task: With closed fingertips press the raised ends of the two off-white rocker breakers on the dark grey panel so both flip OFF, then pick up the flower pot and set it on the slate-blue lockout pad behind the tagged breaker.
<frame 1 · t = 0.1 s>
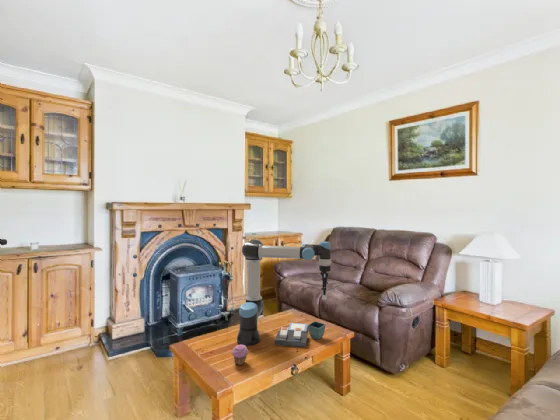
hand: (324, 296, 204), 28 cm above the table, fingers open, 13 cm apart
breaker 2: (297, 333, 199), point 6 cm above the table, hinge at 15.0°
breaker 1: (284, 332, 200), point 6 cm above the table, hinge at 15.0°
lockout pad: (297, 328, 219), on the table
cupcake: (240, 363, 172), on the table
flower pot: (316, 338, 205), on the table
breaker panel: (291, 341, 200), on the table
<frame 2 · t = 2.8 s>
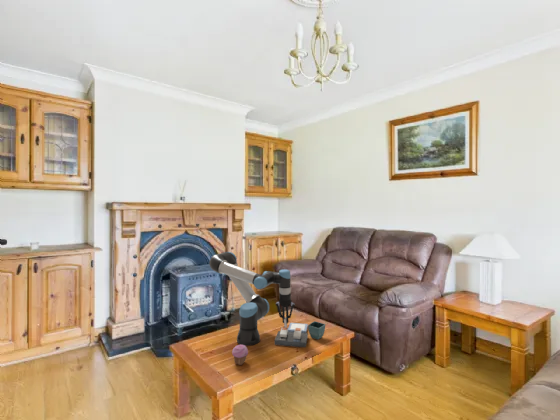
hand: (285, 327, 205), 7 cm above the table, fingers closed
breaker 1: (284, 332, 200), point 6 cm above the table, hinge at 7.3°, touching gripper
everything else where it was.
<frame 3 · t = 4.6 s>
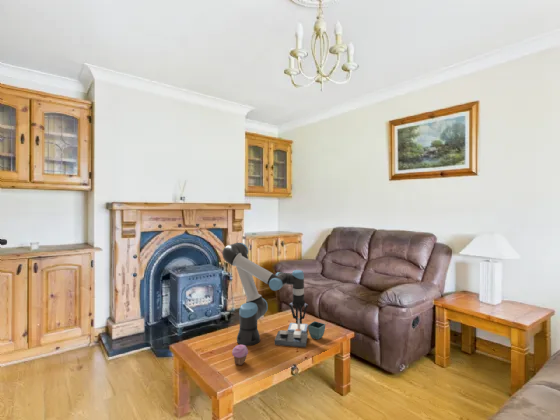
hand: (299, 328, 204), 7 cm above the table, fingers closed
breaker 2: (297, 333, 199), point 6 cm above the table, hinge at 1.2°, touching gripper
breaker 1: (284, 332, 200), point 6 cm above the table, hinge at -22.0°
everything else where it was.
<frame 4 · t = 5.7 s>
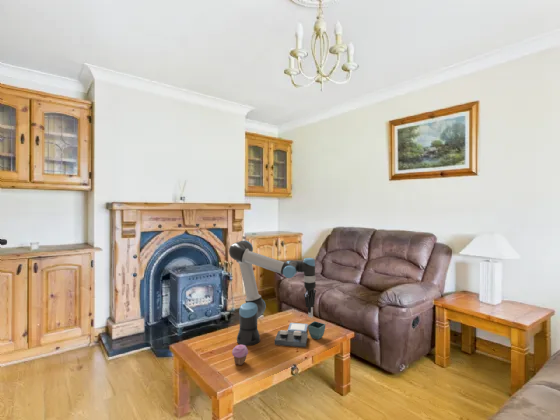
hand: (310, 316, 203), 15 cm above the table, fingers closed
breaker 2: (297, 333, 199), point 6 cm above the table, hinge at -19.5°
breaker 1: (284, 332, 200), point 6 cm above the table, hinge at -20.2°
everything else where it was.
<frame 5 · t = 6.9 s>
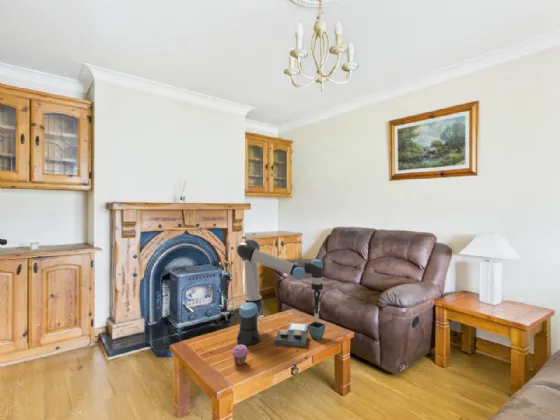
hand: (317, 314, 204), 16 cm above the table, fingers open, 13 cm apart
breaker 2: (297, 333, 199), point 6 cm above the table, hinge at -22.0°
breaker 1: (284, 332, 200), point 6 cm above the table, hinge at -19.5°
everything else where it was.
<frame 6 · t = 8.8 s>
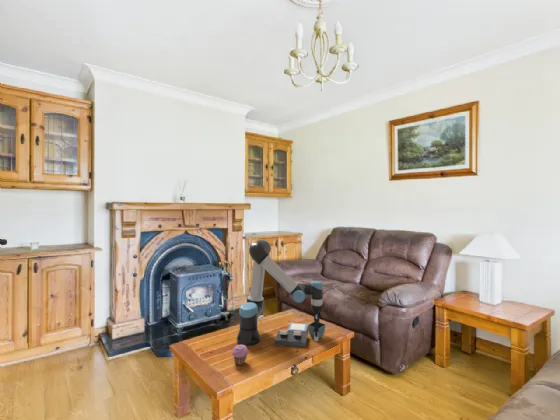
hand: (316, 337, 205), 0 cm above the table, fingers closed on flower pot, 10 cm apart
breaker 2: (297, 333, 199), point 6 cm above the table, hinge at -20.8°
flower pot: (316, 338, 205), on the table, touching gripper
everything else where it was.
when the fingers open (3 cm above the table, at t = 14.3 s): flower pot moves 2 cm, resting on lockout pad.
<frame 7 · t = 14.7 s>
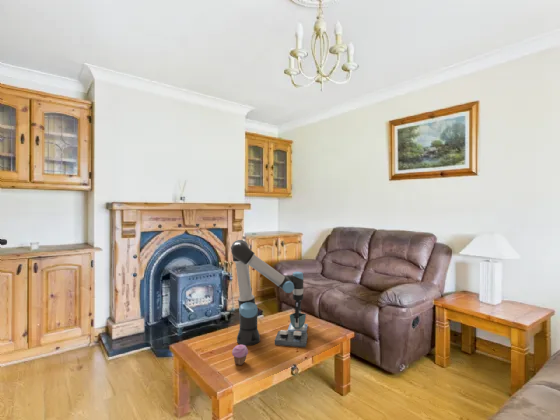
hand: (297, 323, 219), 4 cm above the table, fingers open, 13 cm apart
flower pot: (298, 327, 217), point 2 cm above the table, touching gripper, lockout pad
everything else where it was.
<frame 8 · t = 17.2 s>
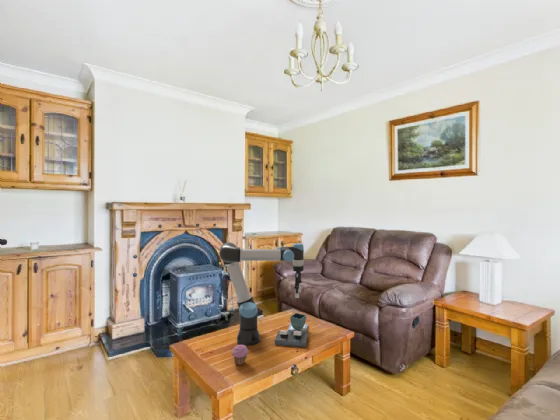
hand: (298, 294, 218), 25 cm above the table, fingers open, 13 cm apart
flower pot: (298, 328, 216), point 1 cm above the table, touching lockout pad
everything else where it was.
at the end: breaker 1 at -19° (first picture: +15°); breaker 2 at -21° (first picture: +15°); flower pot inside the target area on the lockout pad (2.9 cm from its centre), point 1.4 cm above the lockout pad's base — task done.
